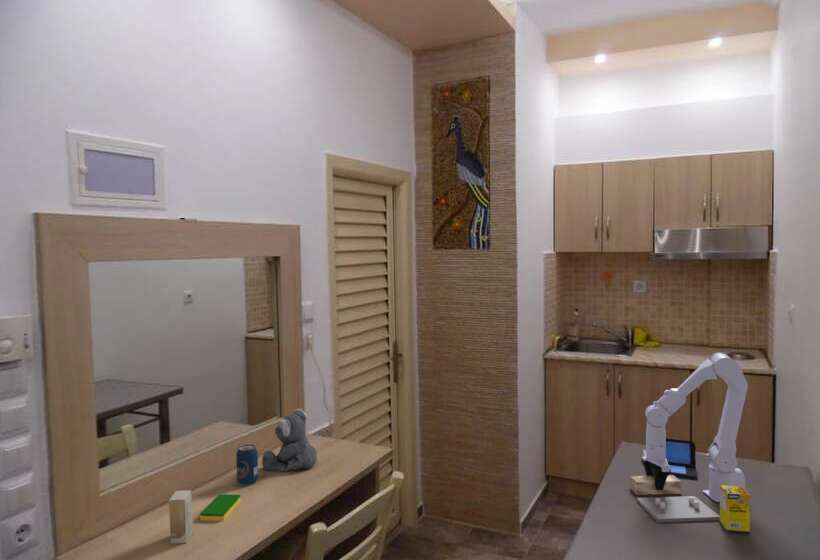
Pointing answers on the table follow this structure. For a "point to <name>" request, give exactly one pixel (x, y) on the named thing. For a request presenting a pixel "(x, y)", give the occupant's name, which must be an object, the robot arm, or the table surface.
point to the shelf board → (647, 485)
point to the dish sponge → (220, 507)
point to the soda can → (247, 465)
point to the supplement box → (735, 509)
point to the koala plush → (291, 445)
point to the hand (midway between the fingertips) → (655, 485)
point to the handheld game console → (681, 458)
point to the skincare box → (180, 516)
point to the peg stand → (677, 509)
